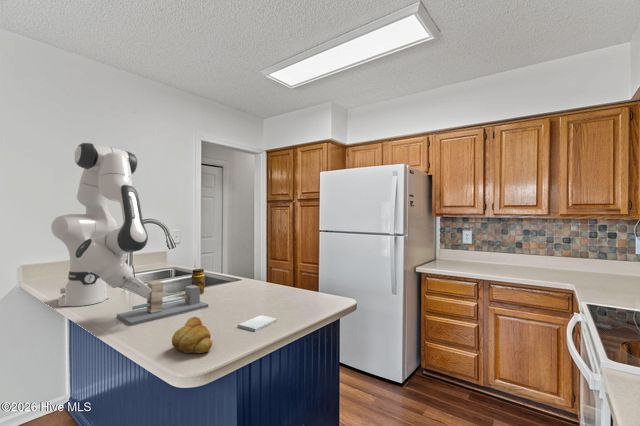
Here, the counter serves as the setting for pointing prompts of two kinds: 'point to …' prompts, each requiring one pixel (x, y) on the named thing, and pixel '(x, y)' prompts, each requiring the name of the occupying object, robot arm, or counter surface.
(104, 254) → the robot arm
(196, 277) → the condiment
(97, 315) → the counter surface
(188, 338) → the bread roll
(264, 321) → the hard drive
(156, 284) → the notched wooden block
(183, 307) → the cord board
